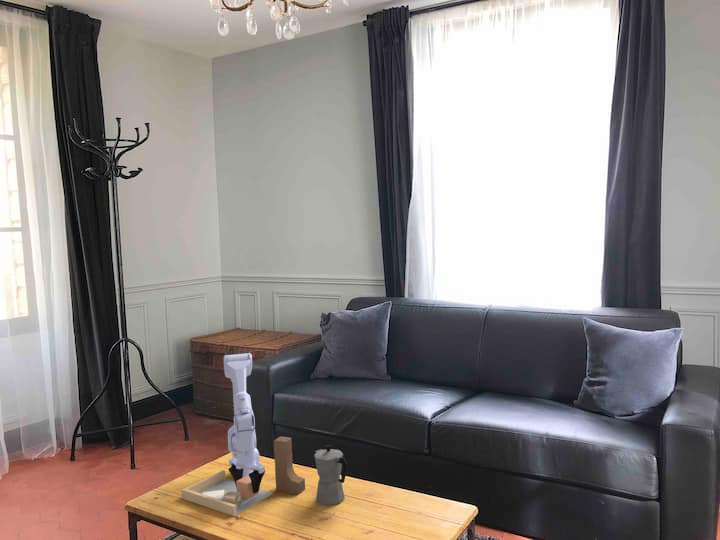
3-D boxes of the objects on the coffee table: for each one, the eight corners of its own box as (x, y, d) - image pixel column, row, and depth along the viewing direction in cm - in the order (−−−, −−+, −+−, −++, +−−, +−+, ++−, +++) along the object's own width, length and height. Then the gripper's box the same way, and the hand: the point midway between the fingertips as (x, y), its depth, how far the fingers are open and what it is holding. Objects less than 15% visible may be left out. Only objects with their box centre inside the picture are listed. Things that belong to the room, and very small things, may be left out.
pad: (202, 492, 199) (202, 492, 199) (224, 490, 200) (224, 489, 200) (201, 501, 192) (201, 501, 192) (223, 499, 193) (223, 498, 193)
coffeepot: (306, 497, 194) (304, 444, 193) (328, 488, 200) (326, 436, 199) (337, 513, 183) (334, 456, 181) (359, 503, 189) (357, 448, 188)
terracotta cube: (247, 490, 200) (247, 475, 199) (258, 493, 197) (258, 478, 196) (237, 495, 195) (236, 481, 195) (247, 499, 193) (247, 484, 192)
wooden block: (305, 491, 199) (303, 438, 198) (299, 496, 195) (296, 443, 194) (282, 487, 203) (280, 435, 201) (275, 492, 199) (273, 440, 197)
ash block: (229, 503, 190) (229, 491, 190) (240, 504, 189) (240, 492, 188) (223, 509, 186) (222, 496, 186) (234, 510, 185) (233, 498, 185)
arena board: (223, 480, 210) (222, 470, 209) (274, 495, 196) (273, 484, 196) (182, 500, 195) (181, 489, 195) (234, 518, 181) (233, 506, 181)
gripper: (221, 449, 196) (223, 489, 197) (253, 457, 188) (255, 499, 188) (236, 442, 202) (238, 481, 202) (268, 450, 193) (270, 490, 194)
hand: (247, 489), depth 196 cm, fingers open, 7 cm apart
